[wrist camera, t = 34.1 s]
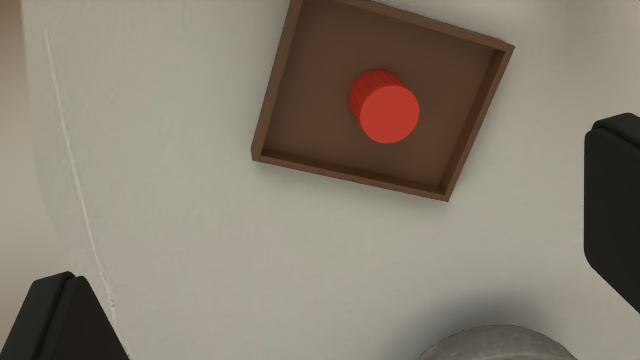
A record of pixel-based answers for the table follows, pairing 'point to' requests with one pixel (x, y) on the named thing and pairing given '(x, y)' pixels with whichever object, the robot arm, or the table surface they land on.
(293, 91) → the tray
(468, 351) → the bowl
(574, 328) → the table surface
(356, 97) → the cap
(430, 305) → the table surface
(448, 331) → the table surface
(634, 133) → the robot arm
